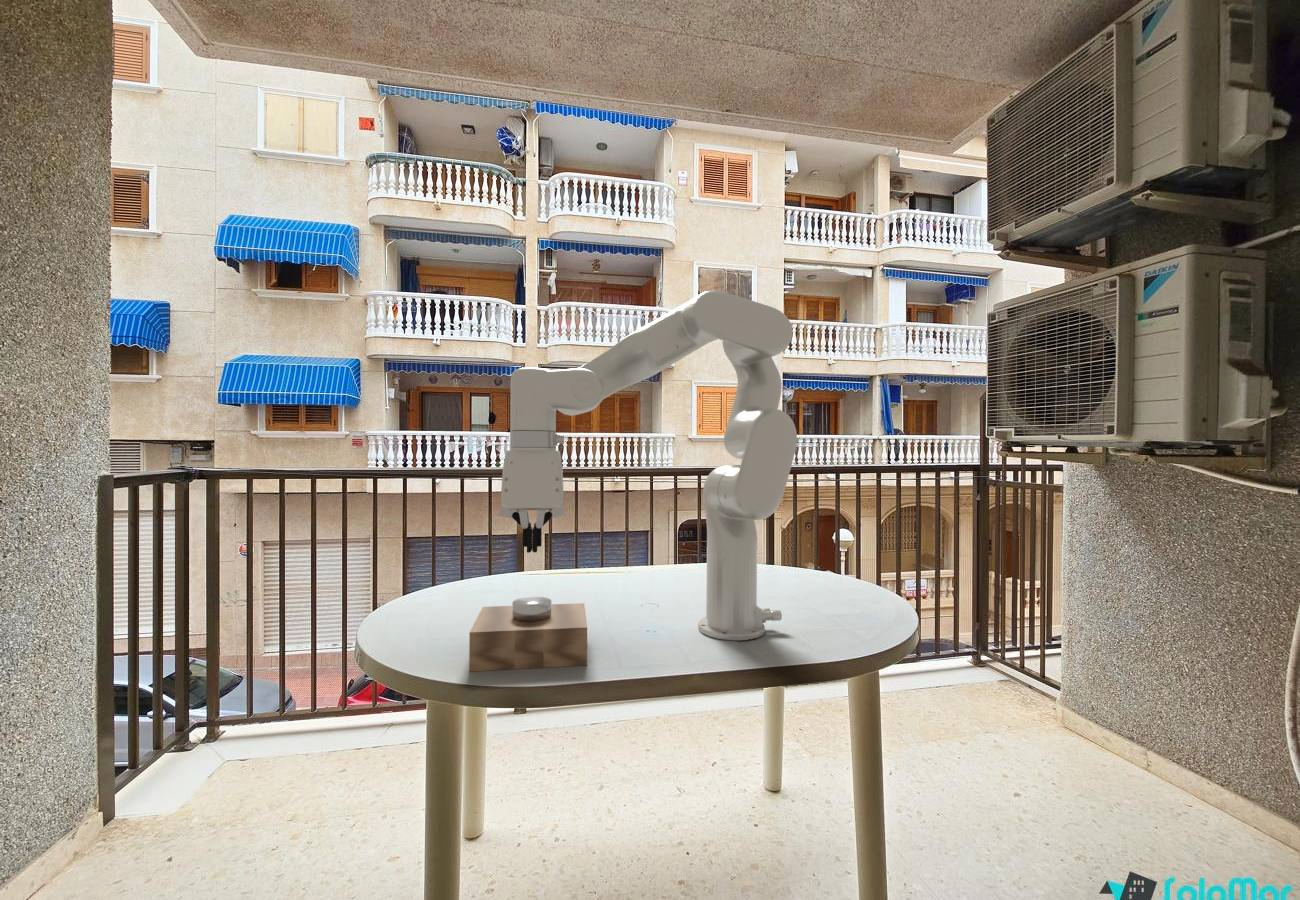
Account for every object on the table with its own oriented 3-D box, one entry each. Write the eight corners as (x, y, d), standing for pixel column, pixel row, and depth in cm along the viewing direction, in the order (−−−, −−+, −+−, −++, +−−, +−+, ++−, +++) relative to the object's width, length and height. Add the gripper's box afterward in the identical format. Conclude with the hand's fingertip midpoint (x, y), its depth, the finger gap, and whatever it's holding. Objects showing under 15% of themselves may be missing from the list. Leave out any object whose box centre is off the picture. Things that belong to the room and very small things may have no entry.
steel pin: (551, 638, 97) (551, 596, 97) (550, 652, 91) (550, 606, 91) (514, 640, 96) (514, 597, 96) (510, 654, 90) (510, 607, 90)
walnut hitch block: (583, 635, 102) (584, 603, 102) (587, 665, 88) (587, 627, 88) (482, 640, 99) (482, 606, 99) (469, 671, 85) (469, 632, 85)
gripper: (577, 443, 98) (576, 546, 98) (490, 442, 96) (489, 548, 96) (578, 442, 91) (577, 554, 91) (484, 441, 89) (483, 556, 89)
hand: (532, 550), depth 93 cm, fingers closed
